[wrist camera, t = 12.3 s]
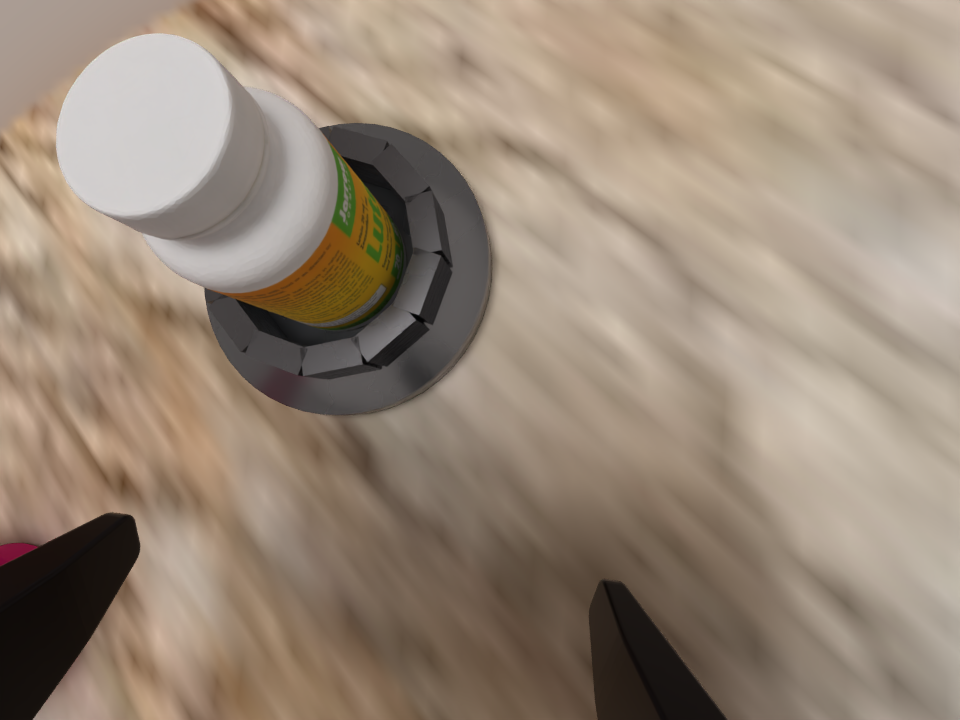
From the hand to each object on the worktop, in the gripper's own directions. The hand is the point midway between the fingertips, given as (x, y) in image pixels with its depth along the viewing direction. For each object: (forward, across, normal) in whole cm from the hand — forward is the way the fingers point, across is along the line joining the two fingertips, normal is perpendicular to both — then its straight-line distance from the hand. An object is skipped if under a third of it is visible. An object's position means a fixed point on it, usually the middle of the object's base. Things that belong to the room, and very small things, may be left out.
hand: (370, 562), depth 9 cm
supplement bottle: (+12, +4, -2) cm, 13 cm away
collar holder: (+13, +4, -2) cm, 14 cm away
